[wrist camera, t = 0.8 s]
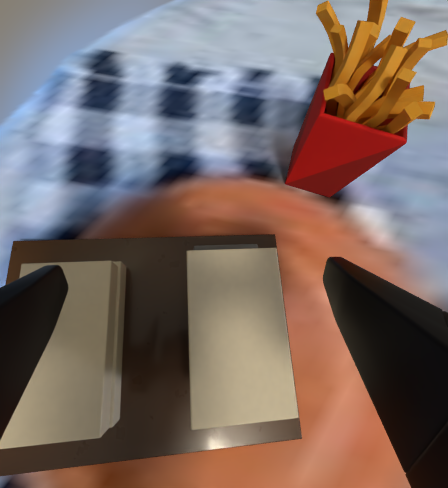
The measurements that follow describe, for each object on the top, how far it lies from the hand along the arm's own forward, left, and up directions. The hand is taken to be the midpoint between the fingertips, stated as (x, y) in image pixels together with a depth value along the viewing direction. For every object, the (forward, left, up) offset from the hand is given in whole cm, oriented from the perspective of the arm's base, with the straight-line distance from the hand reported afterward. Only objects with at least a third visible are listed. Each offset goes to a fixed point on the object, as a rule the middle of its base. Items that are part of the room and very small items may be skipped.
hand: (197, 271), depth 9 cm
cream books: (-2, +8, -13) cm, 16 cm away
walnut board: (-2, +3, -15) cm, 15 cm away
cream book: (-2, -3, -10) cm, 10 cm away
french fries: (+13, -12, -15) cm, 23 cm away
